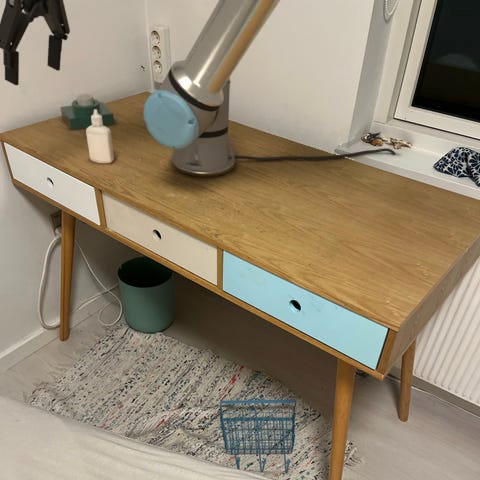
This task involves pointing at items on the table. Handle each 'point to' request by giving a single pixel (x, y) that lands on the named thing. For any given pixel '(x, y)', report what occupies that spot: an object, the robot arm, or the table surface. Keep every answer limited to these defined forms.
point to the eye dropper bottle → (99, 140)
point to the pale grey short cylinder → (85, 100)
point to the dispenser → (85, 115)
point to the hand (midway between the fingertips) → (33, 74)
